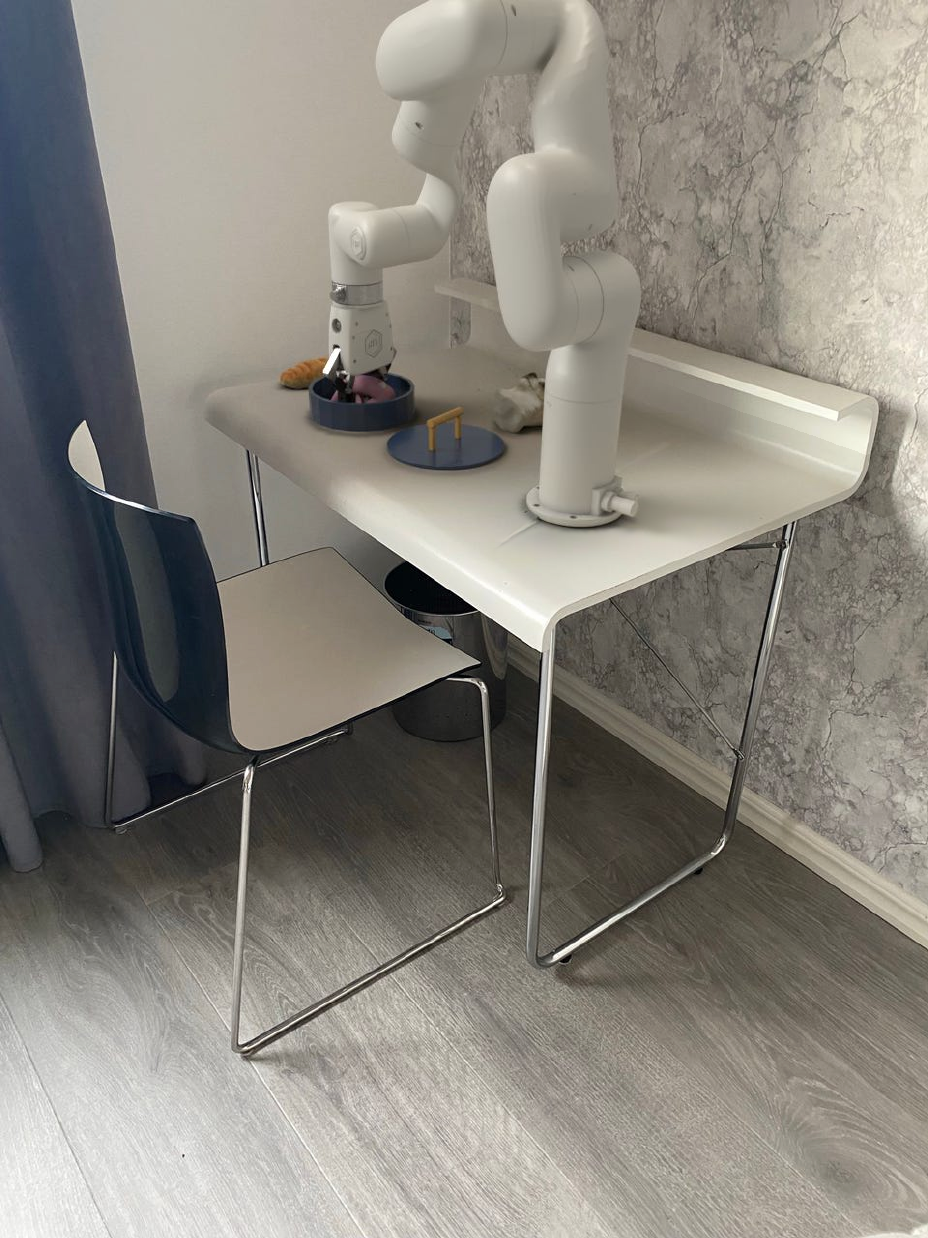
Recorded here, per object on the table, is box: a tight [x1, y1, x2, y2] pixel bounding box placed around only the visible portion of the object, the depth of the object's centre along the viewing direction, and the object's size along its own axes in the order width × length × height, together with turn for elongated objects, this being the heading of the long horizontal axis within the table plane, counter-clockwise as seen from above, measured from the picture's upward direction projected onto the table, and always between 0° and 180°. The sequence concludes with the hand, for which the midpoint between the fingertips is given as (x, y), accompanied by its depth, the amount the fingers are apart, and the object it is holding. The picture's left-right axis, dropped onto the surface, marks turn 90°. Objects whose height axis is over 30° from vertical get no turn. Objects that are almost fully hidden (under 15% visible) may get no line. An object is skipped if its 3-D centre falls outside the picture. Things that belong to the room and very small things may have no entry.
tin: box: [308, 372, 416, 433], centre depth 156 cm, size 16×16×5 cm
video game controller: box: [331, 375, 395, 403], centre depth 156 cm, size 10×5×7 cm, turn 58°
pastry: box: [279, 356, 329, 390], centre depth 170 cm, size 9×7×4 cm
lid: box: [386, 406, 505, 471], centre depth 144 cm, size 17×17×6 cm
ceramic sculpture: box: [492, 372, 545, 434], centre depth 152 cm, size 11×9×15 cm
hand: (362, 408), depth 157 cm, fingers closed on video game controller, 6 cm apart
